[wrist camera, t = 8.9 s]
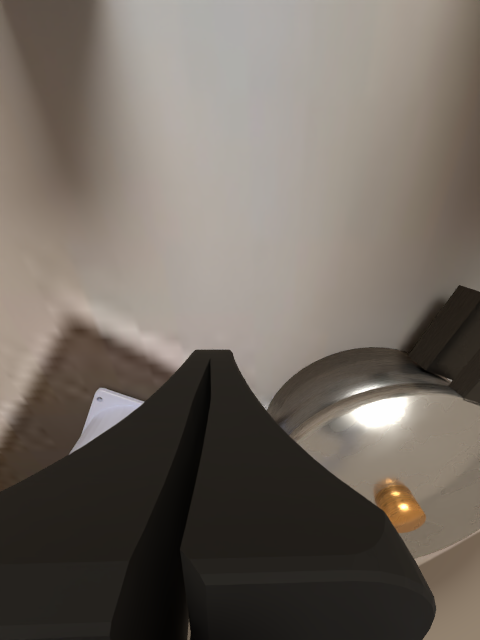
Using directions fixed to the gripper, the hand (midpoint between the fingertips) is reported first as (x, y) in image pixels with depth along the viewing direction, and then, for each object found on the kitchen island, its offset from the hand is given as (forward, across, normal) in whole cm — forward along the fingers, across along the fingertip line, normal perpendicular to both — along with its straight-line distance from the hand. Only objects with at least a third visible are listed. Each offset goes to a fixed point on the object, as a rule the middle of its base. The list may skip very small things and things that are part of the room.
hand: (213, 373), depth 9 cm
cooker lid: (+5, -14, +11) cm, 18 cm away
